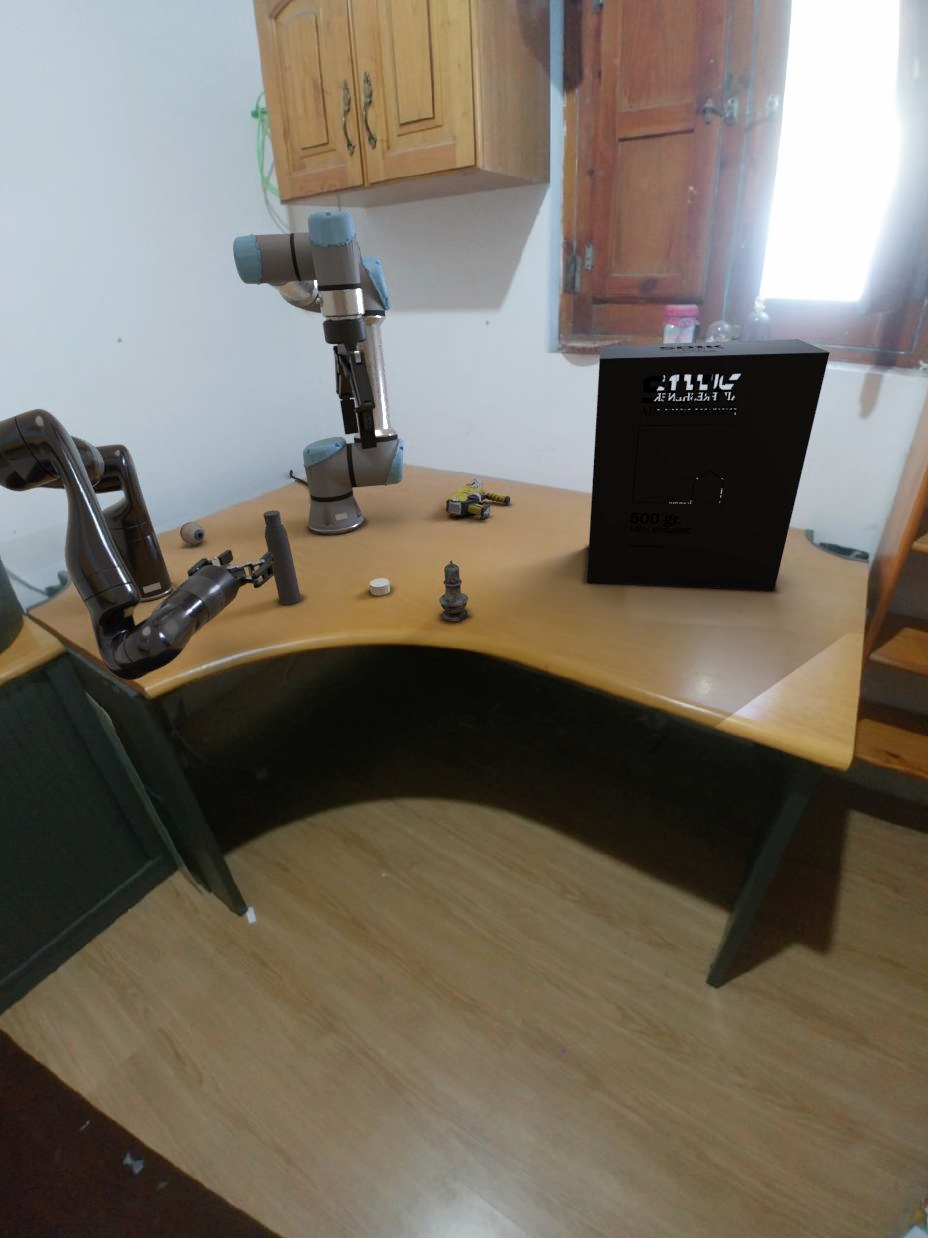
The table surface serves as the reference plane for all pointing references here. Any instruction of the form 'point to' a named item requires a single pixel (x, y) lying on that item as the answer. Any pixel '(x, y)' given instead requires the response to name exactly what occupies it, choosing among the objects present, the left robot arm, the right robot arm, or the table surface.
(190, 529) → the eyeball
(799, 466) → the cardboard box
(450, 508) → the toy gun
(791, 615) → the table surface
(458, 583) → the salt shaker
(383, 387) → the right robot arm
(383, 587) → the cap
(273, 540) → the bottle
